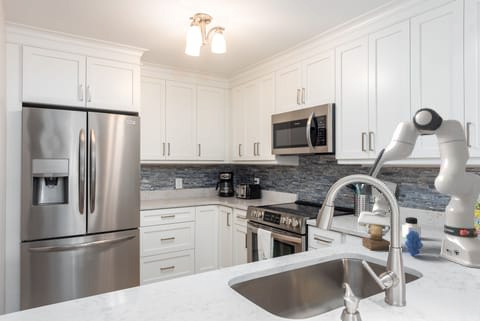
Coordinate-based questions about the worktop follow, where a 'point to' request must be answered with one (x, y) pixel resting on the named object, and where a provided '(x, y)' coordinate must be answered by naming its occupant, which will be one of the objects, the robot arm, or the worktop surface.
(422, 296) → the worktop surface
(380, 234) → the tan tall piece
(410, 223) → the medicine bottle
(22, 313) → the worktop surface
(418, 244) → the grapes
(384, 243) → the brown wooden tray
